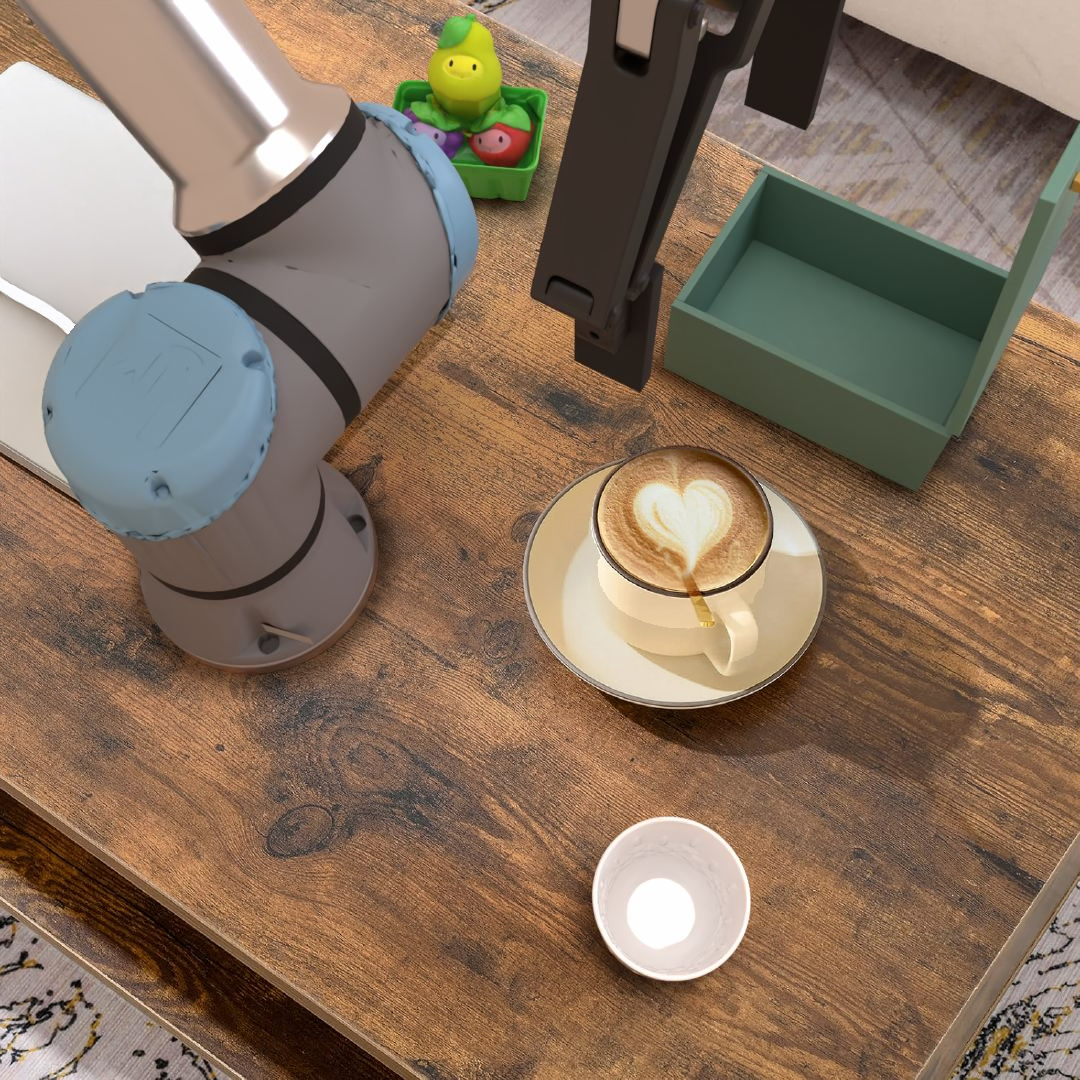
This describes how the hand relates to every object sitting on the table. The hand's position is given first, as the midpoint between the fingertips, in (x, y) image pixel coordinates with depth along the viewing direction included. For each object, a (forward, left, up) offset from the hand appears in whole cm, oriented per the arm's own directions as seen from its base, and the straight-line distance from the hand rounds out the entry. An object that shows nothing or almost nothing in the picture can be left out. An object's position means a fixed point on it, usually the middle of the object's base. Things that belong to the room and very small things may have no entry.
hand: (699, 234), depth 44 cm
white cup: (+11, -18, -35) cm, 41 cm away
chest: (+3, +21, -35) cm, 40 cm away
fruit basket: (-28, +23, -35) cm, 50 cm away
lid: (+11, +21, -16) cm, 29 cm away
